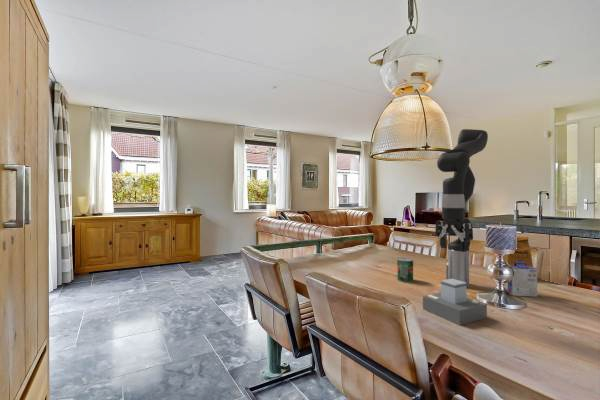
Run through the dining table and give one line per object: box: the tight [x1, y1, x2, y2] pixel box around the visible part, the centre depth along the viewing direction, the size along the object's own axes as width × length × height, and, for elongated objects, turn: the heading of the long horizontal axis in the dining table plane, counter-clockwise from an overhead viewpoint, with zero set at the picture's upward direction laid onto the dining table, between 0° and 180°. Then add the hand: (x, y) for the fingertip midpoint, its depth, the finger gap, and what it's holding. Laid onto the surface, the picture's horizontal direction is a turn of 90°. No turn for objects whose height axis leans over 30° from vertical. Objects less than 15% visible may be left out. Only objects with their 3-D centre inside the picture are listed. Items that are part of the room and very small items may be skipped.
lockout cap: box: [440, 279, 468, 304], centre depth 111 cm, size 6×6×7 cm
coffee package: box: [504, 236, 534, 267], centre depth 157 cm, size 10×12×22 cm
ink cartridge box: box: [507, 261, 538, 297], centre depth 131 cm, size 10×6×14 cm, turn 78°
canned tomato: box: [396, 257, 414, 283], centre depth 155 cm, size 8×8×11 cm
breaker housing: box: [422, 292, 488, 326], centre depth 111 cm, size 16×14×6 cm
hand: (453, 249), depth 111 cm, fingers open, 8 cm apart
